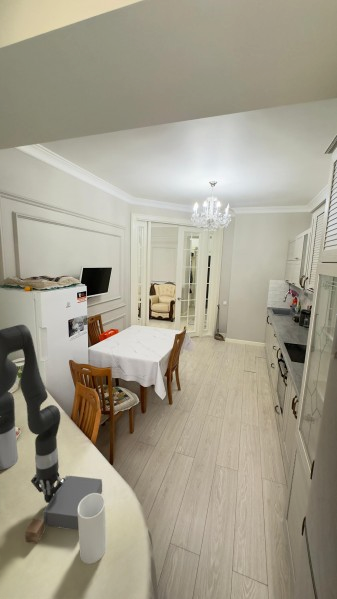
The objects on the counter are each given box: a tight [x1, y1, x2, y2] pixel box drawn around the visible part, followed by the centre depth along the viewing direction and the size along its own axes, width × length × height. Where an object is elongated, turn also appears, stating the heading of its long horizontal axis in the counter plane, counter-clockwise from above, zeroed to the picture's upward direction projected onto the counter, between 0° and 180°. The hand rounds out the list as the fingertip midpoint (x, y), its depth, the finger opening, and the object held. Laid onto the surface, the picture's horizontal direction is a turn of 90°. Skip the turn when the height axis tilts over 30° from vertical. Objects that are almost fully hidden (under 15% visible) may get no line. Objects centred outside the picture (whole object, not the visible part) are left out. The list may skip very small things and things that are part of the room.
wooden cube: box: [24, 518, 45, 544], centre depth 81 cm, size 4×4×4 cm
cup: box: [78, 493, 107, 565], centre depth 77 cm, size 8×8×16 cm
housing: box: [46, 475, 103, 531], centre depth 91 cm, size 14×15×6 cm
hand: (49, 500), depth 92 cm, fingers closed
